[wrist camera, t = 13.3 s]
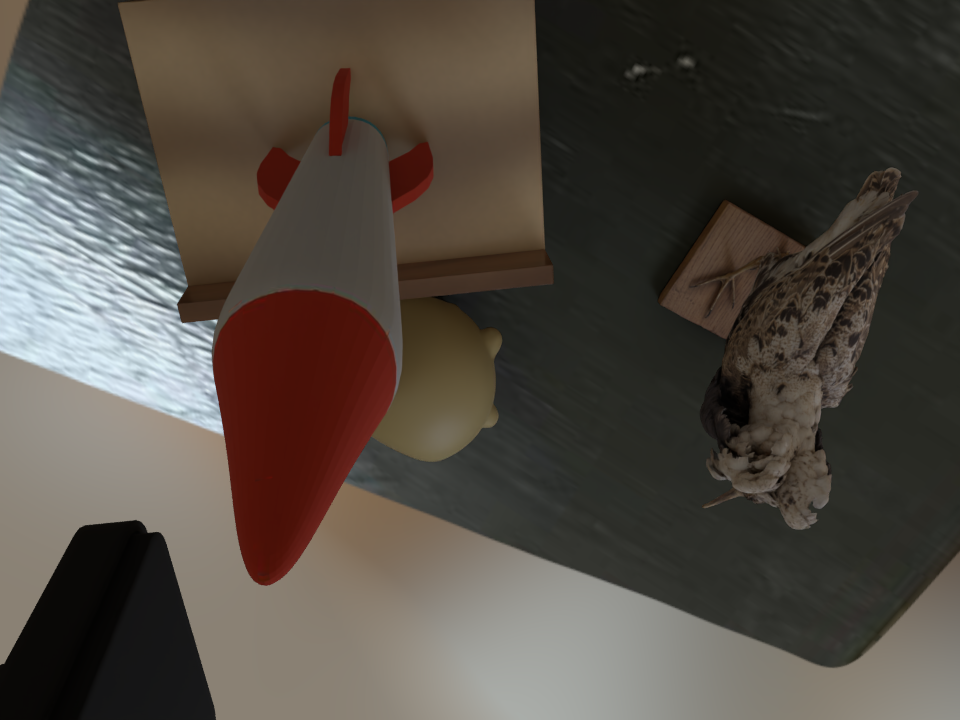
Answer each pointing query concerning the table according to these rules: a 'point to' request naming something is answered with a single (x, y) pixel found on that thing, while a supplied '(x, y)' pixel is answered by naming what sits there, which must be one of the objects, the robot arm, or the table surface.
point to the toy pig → (440, 382)
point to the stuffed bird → (784, 338)
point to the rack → (373, 96)
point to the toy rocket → (312, 331)
